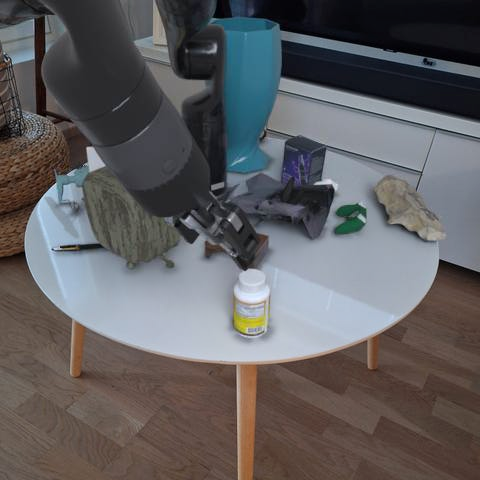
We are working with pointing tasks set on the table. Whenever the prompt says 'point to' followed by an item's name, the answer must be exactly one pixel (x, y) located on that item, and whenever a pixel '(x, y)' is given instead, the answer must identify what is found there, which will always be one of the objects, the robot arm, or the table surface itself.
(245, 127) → the vase
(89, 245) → the fountain pen
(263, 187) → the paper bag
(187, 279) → the table surface
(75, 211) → the pendant
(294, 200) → the bird model
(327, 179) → the figurine
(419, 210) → the stone tool
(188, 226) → the robot arm
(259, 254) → the shelf
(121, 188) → the green mottled tall piece
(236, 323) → the supplement bottle
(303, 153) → the box
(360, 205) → the green toy shoes
